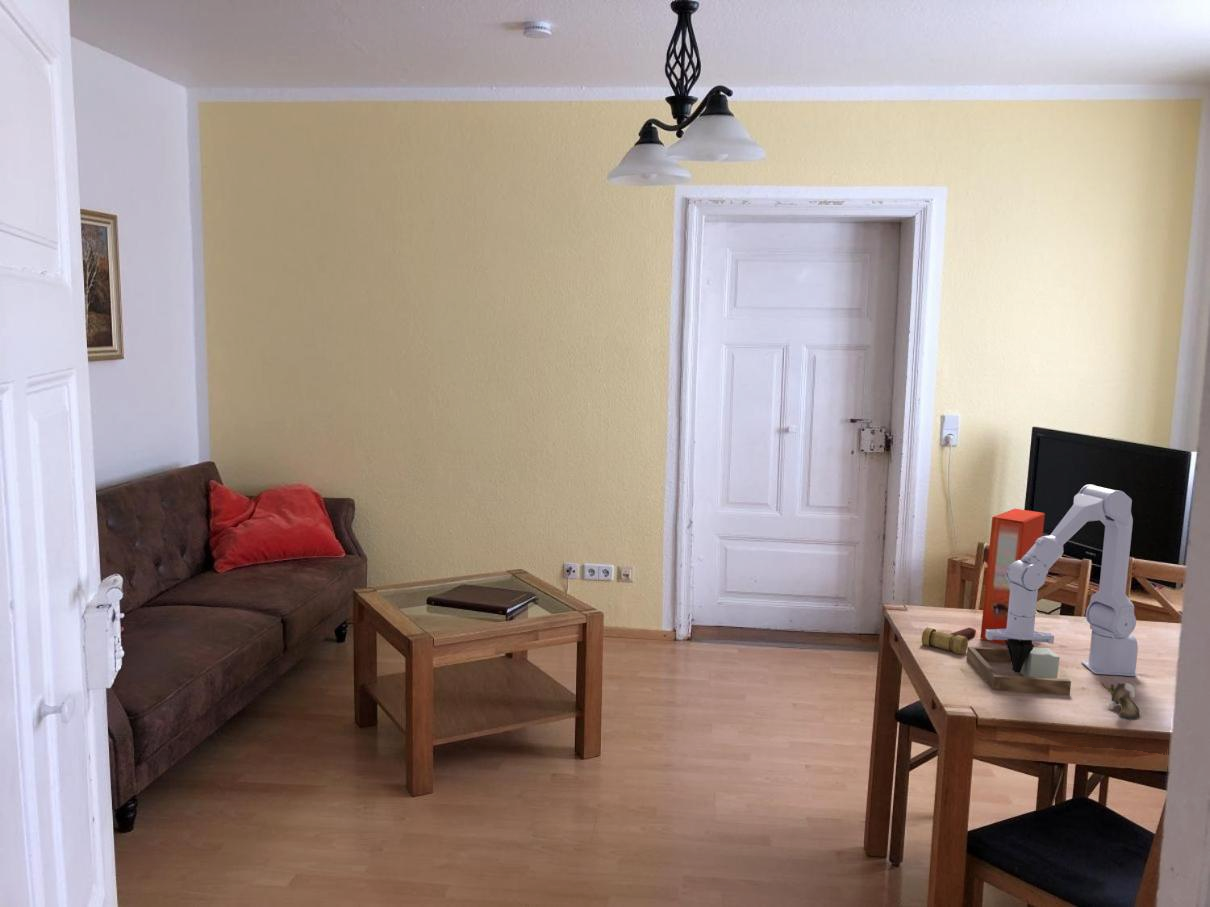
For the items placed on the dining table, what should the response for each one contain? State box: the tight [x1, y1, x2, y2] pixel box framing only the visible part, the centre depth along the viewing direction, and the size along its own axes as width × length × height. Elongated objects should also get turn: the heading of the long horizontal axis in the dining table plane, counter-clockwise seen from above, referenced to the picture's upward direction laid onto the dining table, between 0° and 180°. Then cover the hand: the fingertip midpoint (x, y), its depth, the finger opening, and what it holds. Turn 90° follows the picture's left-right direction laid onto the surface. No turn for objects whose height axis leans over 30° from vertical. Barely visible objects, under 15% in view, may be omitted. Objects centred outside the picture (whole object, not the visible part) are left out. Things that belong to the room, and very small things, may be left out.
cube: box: [1020, 646, 1060, 679], centre depth 220 cm, size 6×6×6 cm
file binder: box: [979, 508, 1046, 646], centre depth 248 cm, size 8×17×32 cm, turn 140°
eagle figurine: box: [1100, 680, 1141, 721], centre depth 201 cm, size 8×7×9 cm
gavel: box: [921, 627, 977, 655], centre depth 244 cm, size 21×5×10 cm
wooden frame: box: [966, 646, 1072, 695], centre depth 220 cm, size 16×20×3 cm
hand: (1016, 671), depth 220 cm, fingers closed
